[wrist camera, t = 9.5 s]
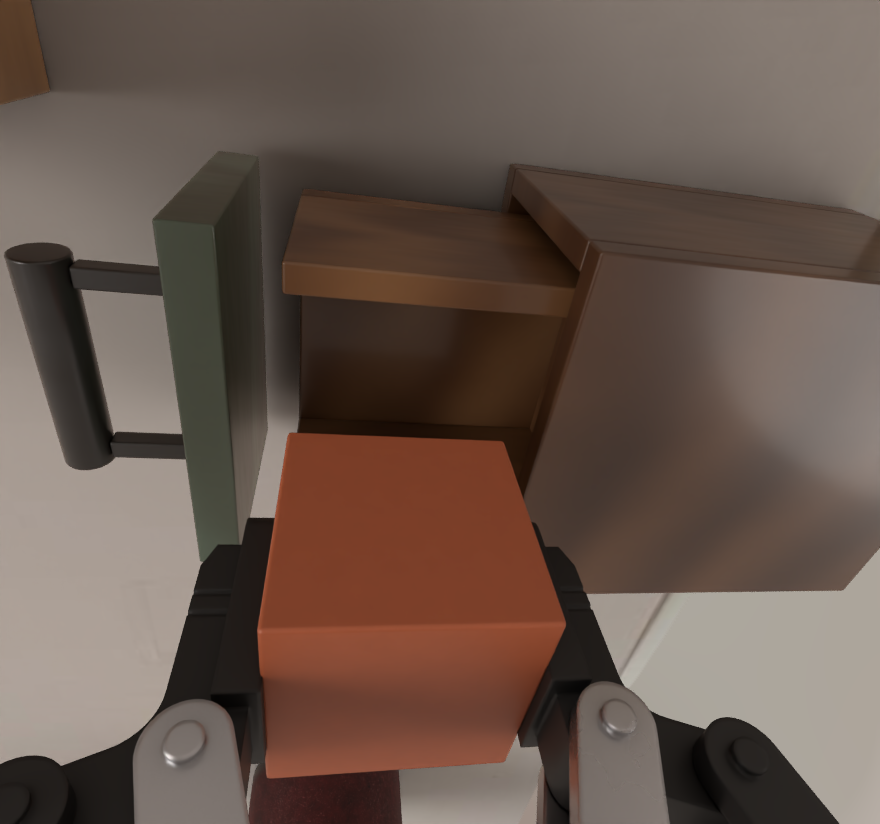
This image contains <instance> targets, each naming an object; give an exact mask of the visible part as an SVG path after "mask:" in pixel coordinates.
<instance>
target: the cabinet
mask: <svg viewBox="0 0 880 824" xmlns="http://www.w3.org/2000/svg"><path fill="white" fill-rule="evenodd" d="M501 212H505V213H513V214H522V215H530V216H531V217H532V218H533V219H534V220H535V221H536V222H537V223H538V225H539V226H540V227H541V228H542V229H543V230H544V232H545V233H546V234H547V235H548V236H549V237H550V239H551V240H552V241H553V242H554V243H555V244H556V245H557V247H558V248H559V249H560V250H561V251H562V252H563V254H564V255H565V256H566V257H567V258H568V259H569V261H570V262H571V263H572V264H573V265H574V266H575V267H576V269H577V270H578V271H579V272H580V275H579V279H578V282H577V285H576V289H575V292H574V295H573V299H572V302H571V305H570V309H569V312H568V315H567V319H566V322H565V325H564V329H563V332H562V335H561V339H560V342H559V345H558V349H557V352H556V355H555V359H554V362H553V365H552V369H551V372H550V375H549V379H548V382H547V385H546V388H545V392H544V395H543V398H542V402H541V405H540V408H539V412H538V415H537V418H536V422H535V425H534V428H533V432H532V435H531V438H530V442H529V445H528V448H527V452H526V455H525V458H524V462H523V465H522V468H521V472H520V475H519V478H518V485H519V488H520V491H521V494H522V497H523V500H524V502H525V505H526V508H527V511H528V514H529V517H530V520H531V522H535V523H536V524H537V526H538V528H539V530H540V533H541V536H542V539H543V541H544V544H545V547H559V548H560V549H561V550H562V551H563V552H564V554H565V555H566V556H567V557H568V558H569V559H570V561H571V562H572V563H573V564H574V565H575V567H576V570H577V572H578V575H579V577H580V580H581V582H582V585H583V591H584V592H586V594H610V593H687V592H755V591H756V592H762V591H763V592H764V591H835V590H837V591H838V590H840V591H841V590H844V589H845V588H846V586H847V585H848V584H849V583H850V582H851V581H852V579H853V578H854V577H855V576H856V575H857V574H858V573H859V571H860V570H861V569H862V568H863V567H864V566H865V564H866V563H867V562H868V561H869V560H870V559H871V557H872V556H873V555H874V554H875V553H876V552H877V551H878V549H879V548H880V221H879V220H876V219H874V218H871V217H869V216H865V215H864V214H861V213H859V212H856V211H854V210H850V209H842V208H835V207H828V206H821V205H813V204H806V203H799V202H791V201H784V200H777V199H769V198H762V197H755V196H747V195H740V194H733V193H725V192H718V191H711V190H703V189H696V188H689V187H682V186H674V185H667V184H660V183H652V182H645V181H638V180H630V179H623V178H616V177H608V176H601V175H594V174H586V173H579V172H572V171H564V170H557V169H550V168H543V167H535V166H528V165H521V164H513V163H512V164H511V165H510V169H509V174H508V179H507V183H506V188H505V193H504V198H503V203H502V208H501Z"/></svg>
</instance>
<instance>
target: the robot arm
mask: <svg viewBox="0 0 880 824" xmlns="http://www.w3.org/2000/svg"><path fill="white" fill-rule="evenodd" d="M274 520H275V518H248V519H247V522H246V526H245V530H244V535H243V540H242V545H234V544H218V545H217V546H216V547H215V549H214V550H213V551H212V552H211V553H210V555H209V556H208V557H207V558H206V560H205V561H204V562H203V563H202V565H201V566H200V570H199V574H198V577H197V581H196V584H195V588H194V595H192V599H191V603H190V606H189V610H188V616H187V617H186V621H185V624H184V628H183V632H182V635H181V639H180V643H179V646H178V650H177V654H176V657H175V661H174V664H173V668H172V672H171V675H170V679H169V683H168V686H167V690H166V693H165V696H164V699H163V701H162V703H161V705H160V707H159V709H158V710H157V712H156V713H155V714H154V716H153V717H152V718H151V719H150V721H149V722H148V723H147V724H146V725H145V726H144V727H143V728H142V729H141V730H139V731H138V732H137V733H136V734H134V735H133V736H132V737H130V738H129V739H127V740H125V741H124V742H122V743H120V744H118V745H116V746H114V747H111V748H109V749H106V750H104V751H101V752H98V753H95V754H93V755H90V756H87V757H85V758H82V759H79V760H76V761H74V762H71V763H68V764H66V765H63V766H60V765H59V764H58V763H57V762H55V761H54V760H52V759H50V758H47V757H43V756H24V757H19V758H15V759H12V760H9V761H6V762H4V763H2V764H0V824H250V822H249V816H248V810H247V804H246V796H247V788H248V781H249V773H250V766H251V764H259V763H265V757H266V731H265V713H264V696H263V678H262V676H261V675H260V667H259V651H258V635H257V629H258V622H259V616H260V609H261V603H262V597H263V590H264V584H265V578H266V571H267V565H268V558H269V552H270V546H271V539H272V533H273V526H274ZM531 523H532V526H533V528H534V531H535V534H536V537H537V540H538V543H539V546H540V549H541V552H542V554H543V557H544V560H545V563H546V566H547V569H548V572H549V575H550V578H551V580H552V583H553V586H554V589H555V592H556V595H557V598H558V601H559V603H560V606H561V609H562V612H563V615H564V618H565V621H566V627H565V629H564V632H563V634H562V636H561V638H560V641H559V643H558V645H557V647H556V649H555V652H554V654H553V656H552V658H551V660H550V663H549V665H548V667H547V669H546V671H545V674H544V676H543V678H542V680H541V682H540V685H539V687H538V689H537V691H536V693H535V696H534V698H533V700H532V702H531V704H530V707H529V709H528V711H527V713H526V715H525V718H524V720H523V722H522V724H521V726H520V729H519V731H518V738H519V742H520V746H521V747H536V746H538V747H539V751H540V755H541V759H542V763H543V765H542V767H541V769H540V772H539V777H538V797H537V824H839V823H838V821H837V820H836V819H835V818H834V817H833V815H832V814H831V813H830V812H829V810H828V809H827V808H826V807H825V806H824V804H823V803H822V802H821V801H820V799H819V798H818V797H817V796H816V795H815V793H814V792H813V791H812V790H811V788H810V787H809V786H808V785H807V784H806V782H805V781H804V780H803V779H802V778H801V776H800V775H799V774H798V773H797V772H796V771H795V769H794V768H793V767H792V765H791V764H790V763H789V762H788V761H787V759H786V758H785V757H784V756H783V755H782V753H781V752H780V751H779V750H778V749H777V747H776V746H775V745H774V744H773V743H772V742H771V740H770V739H769V738H768V737H767V736H766V735H765V734H763V733H762V732H761V731H759V730H758V729H757V728H755V727H754V726H752V725H751V724H749V723H747V722H745V721H742V720H739V719H736V718H730V717H725V718H719V719H716V720H714V721H713V722H712V723H711V724H710V725H709V726H708V727H707V728H706V729H702V728H699V727H695V726H692V725H689V724H685V723H682V722H679V721H675V720H672V719H669V718H666V717H663V716H660V715H658V714H656V713H654V712H652V711H650V710H649V709H648V707H647V706H646V705H645V703H644V702H643V701H642V700H641V699H640V698H639V697H638V696H637V695H636V694H635V693H633V692H632V691H631V690H629V689H628V688H626V687H625V686H624V685H623V683H622V681H621V679H620V677H619V675H618V673H617V670H616V668H615V665H614V663H613V660H612V658H611V655H610V653H609V650H608V648H607V645H606V642H605V640H604V637H603V635H602V632H601V630H600V627H599V625H598V622H597V620H596V617H595V615H594V612H593V610H591V608H590V602H589V600H588V597H587V595H586V592H584V591H583V585H582V582H581V580H580V577H579V575H578V572H577V570H576V567H575V565H574V564H573V563H572V562H571V561H570V559H569V558H568V557H567V556H566V555H565V554H564V552H563V551H562V550H561V549H560V548H559V547H545V544H544V541H543V539H542V536H541V533H540V530H539V528H538V526H537V524H536V523H535V522H531Z"/></svg>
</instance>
